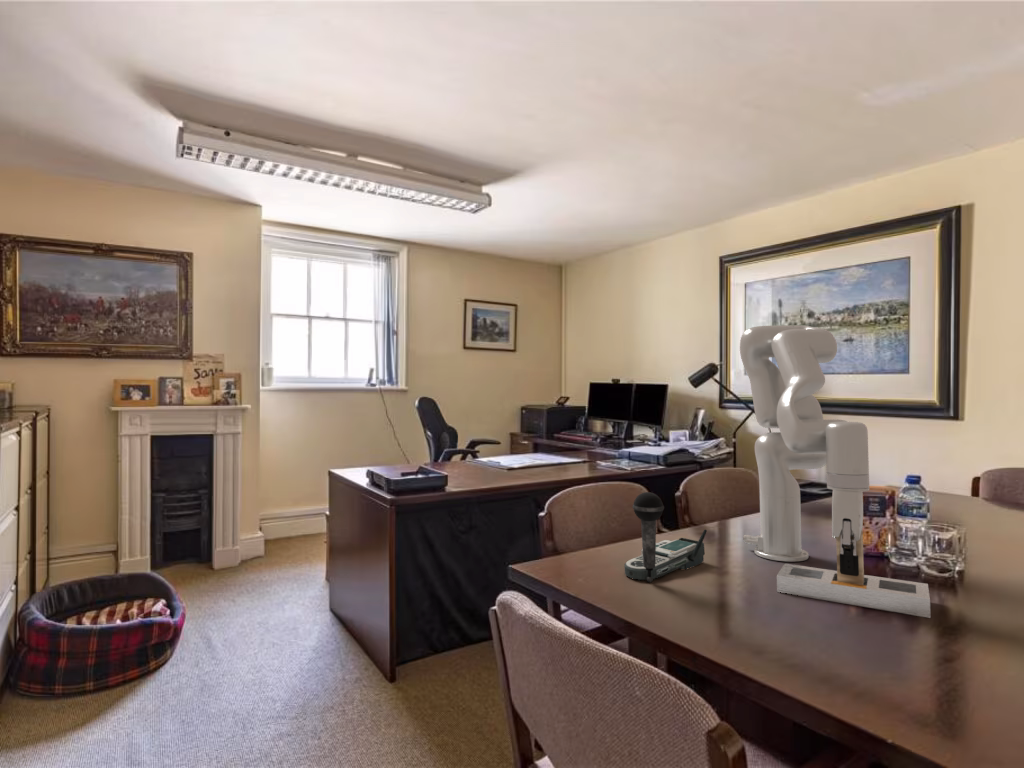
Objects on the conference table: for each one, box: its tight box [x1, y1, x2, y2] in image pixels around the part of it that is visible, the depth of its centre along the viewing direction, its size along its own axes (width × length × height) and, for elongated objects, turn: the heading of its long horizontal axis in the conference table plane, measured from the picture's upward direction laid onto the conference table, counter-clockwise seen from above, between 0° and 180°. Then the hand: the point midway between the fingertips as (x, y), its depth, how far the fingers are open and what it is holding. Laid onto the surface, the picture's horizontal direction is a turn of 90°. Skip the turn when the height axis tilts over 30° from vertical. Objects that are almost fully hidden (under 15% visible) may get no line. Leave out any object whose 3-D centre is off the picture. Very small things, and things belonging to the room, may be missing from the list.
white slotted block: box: [776, 563, 931, 619], centre depth 116 cm, size 26×10×4 cm, turn 56°
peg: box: [835, 528, 865, 585], centre depth 116 cm, size 4×4×11 cm
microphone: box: [632, 491, 665, 583], centre depth 127 cm, size 7×7×20 cm
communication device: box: [623, 529, 708, 581], centre depth 137 cm, size 12×24×9 cm, turn 129°
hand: (850, 570), depth 116 cm, fingers closed on peg, 4 cm apart
